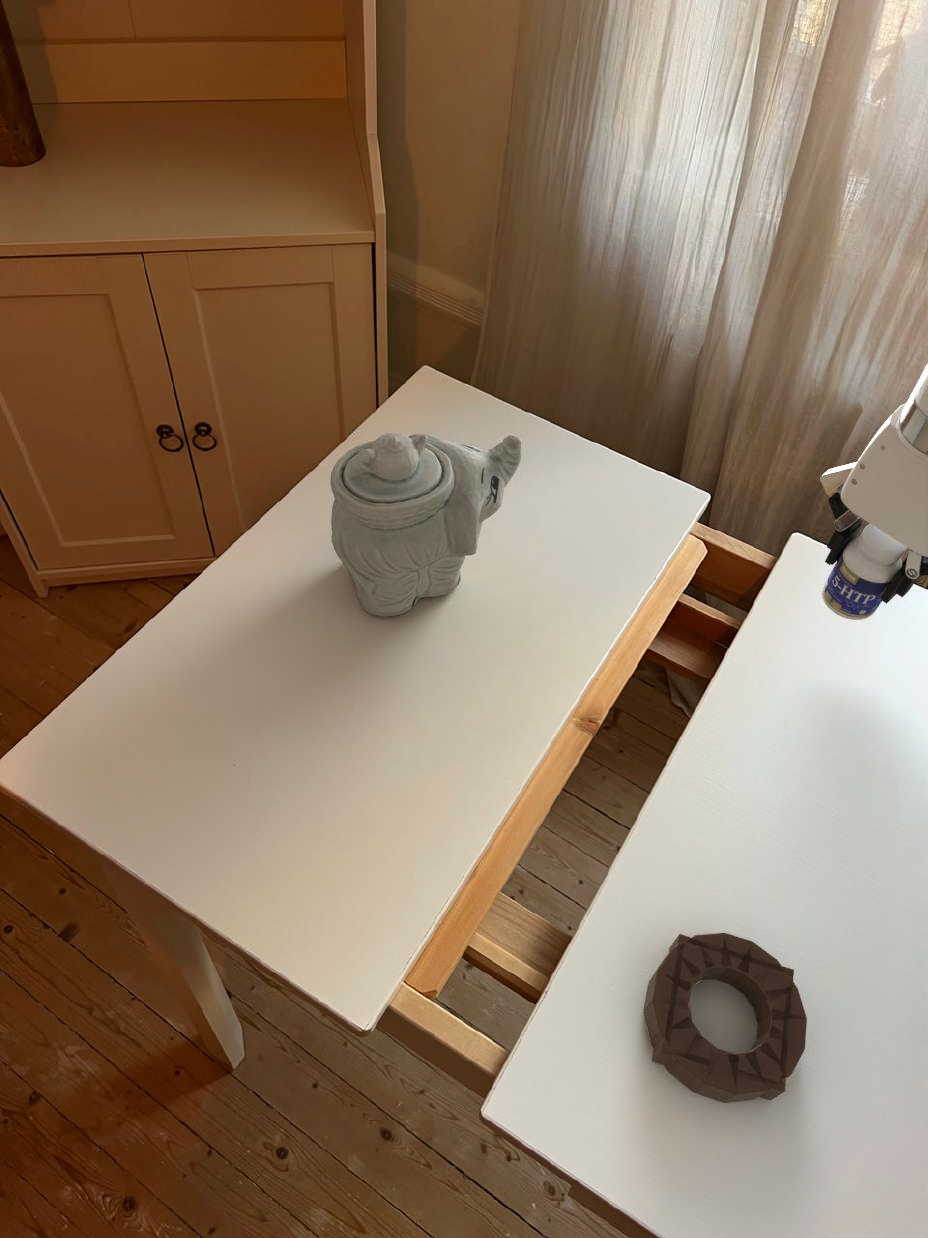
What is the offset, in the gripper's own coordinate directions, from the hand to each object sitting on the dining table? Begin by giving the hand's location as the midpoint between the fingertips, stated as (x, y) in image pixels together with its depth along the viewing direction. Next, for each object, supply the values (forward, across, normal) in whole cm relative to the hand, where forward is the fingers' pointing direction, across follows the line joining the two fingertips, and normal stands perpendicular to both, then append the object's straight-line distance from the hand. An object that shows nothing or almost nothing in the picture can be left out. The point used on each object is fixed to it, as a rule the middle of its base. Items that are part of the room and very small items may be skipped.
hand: (864, 574), depth 89 cm
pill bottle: (+4, 0, 0) cm, 4 cm away
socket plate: (+10, -15, +38) cm, 42 cm away
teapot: (+9, +33, +25) cm, 43 cm away
